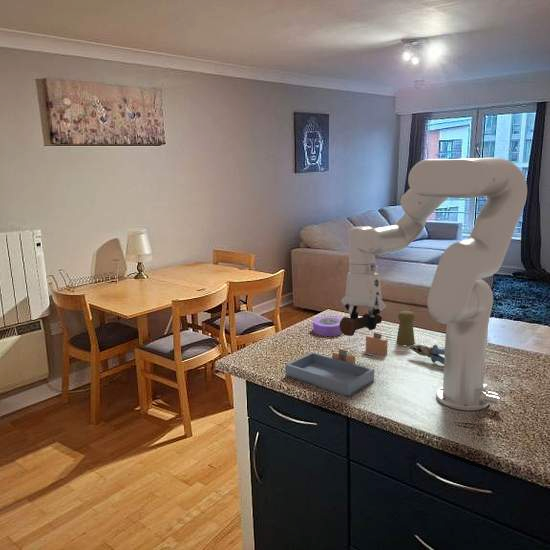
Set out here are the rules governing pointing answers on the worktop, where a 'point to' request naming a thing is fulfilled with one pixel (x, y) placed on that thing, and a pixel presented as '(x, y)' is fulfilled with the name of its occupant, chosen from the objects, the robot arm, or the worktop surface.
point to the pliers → (429, 352)
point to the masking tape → (327, 326)
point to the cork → (406, 328)
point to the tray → (330, 373)
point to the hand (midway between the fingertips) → (363, 327)
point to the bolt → (355, 324)
